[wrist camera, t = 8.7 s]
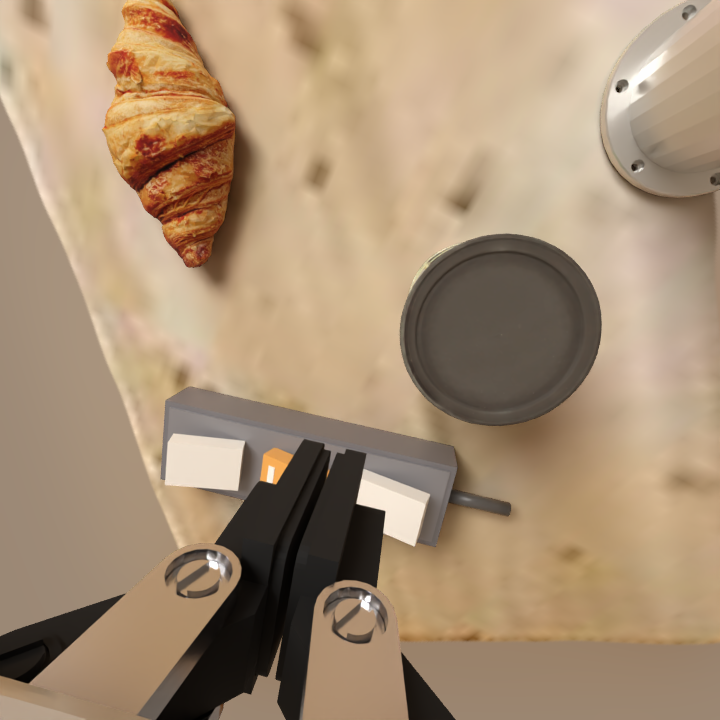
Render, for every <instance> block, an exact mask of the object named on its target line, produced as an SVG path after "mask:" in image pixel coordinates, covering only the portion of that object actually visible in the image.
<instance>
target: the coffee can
mask: <svg viewBox="0 0 720 720" xmlns="http://www.w3.org/2000/svg"><path fill="white" fill-rule="evenodd" d="M601 325H602V321H601V311H600V305H599V301H598V297H597V295H596V292H595V290H594V287H593V285H592V283H591V282H590V280H589V279H588V277H587V275H586V274H585V272H584V271H583V270H582V269H581V268H580V266H579V265H578V264H577V263H576V262H575V261H574V260H573V259H572V258H571V257H569V256H568V255H567V254H566V253H565V252H563V251H562V250H560V249H559V248H557V247H555V246H553V245H551V244H549V243H547V242H545V241H542V240H540V239H537V238H533V237H529V236H523V235H517V234H495V235H487V236H482V237H478V238H475V239H472V240H468V241H466V242H463V243H460V244H455V245H452V246H450V247H447V248H445V249H443V250H441V251H439V252H438V253H436V254H435V255H433V256H432V257H431V258H430V259H428V260H427V261H426V262H425V263H424V264H423V265H422V267H421V268H420V269H419V271H418V273H417V274H416V276H415V278H414V280H413V282H412V285H411V288H410V291H409V295H408V297H407V300H406V303H405V306H404V309H403V312H402V317H401V323H400V346H401V352H402V356H403V360H404V364H405V366H406V369H407V371H408V373H409V375H410V377H411V379H412V381H413V382H414V384H415V386H416V387H417V388H418V389H419V391H420V392H421V393H422V394H423V395H424V397H425V398H426V399H427V400H428V401H430V402H431V403H432V404H433V405H434V406H436V407H437V408H438V409H440V410H442V411H443V412H445V413H447V414H448V415H450V416H452V417H454V418H457V419H460V420H462V421H465V422H469V423H473V424H479V425H488V426H504V425H512V424H517V423H522V422H526V421H529V420H532V419H535V418H537V417H540V416H542V415H544V414H546V413H548V412H550V411H551V410H553V409H554V408H556V407H557V406H559V405H560V404H561V403H563V402H564V401H565V400H566V399H567V398H568V397H570V396H571V395H572V394H573V393H574V392H575V391H576V389H577V388H578V387H579V386H580V385H581V383H582V382H583V381H584V379H585V378H586V376H587V375H588V373H589V372H590V370H591V368H592V366H593V364H594V361H595V359H596V356H597V353H598V349H599V345H600V339H601Z"/></svg>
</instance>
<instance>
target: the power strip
mask: <svg viewBox="0 0 720 720" xmlns="http://www.w3.org/2000/svg"><path fill="white" fill-rule="evenodd" d="M173 433H174V434H184V435H194V436H203V437H213V438H223V439H232V440H242V441H245V448H244V456H243V464H242V472H241V481H240V484H239V488H238V491H234V490H222V489H210V488H199V489H203V490H207V491H211V492H215V493H219V494H223V495H227V496H231V497H235V498H239V499H243V500H245V499H246V498H247V497H248V495H249V494H250V492H251V491H252V489H253V488H254V487H255V485H256V484H257V483H258V482H259V481H260V477H261V470H262V462H263V455H264V453H266V452H268V451H269V450H271V449H273V448H278V449H280V450H283V451H285V452H287V453H290V454H292V455H294V454H295V452H296V451H297V449H298V447H299V446H300V444H301V443H302V441H303V440H304V439H307V440H311V441H315V442H320V443H324V444H325V447H324V449H325V450H330V451H331V456H330V462H329V467H328V470H330V469H331V466H332V464H333V461H334V459H335V456H336V454H337V452H338V453H342V454H345V451H346V449H350V450H354V451H358V452H363V453H367V454H366V460H365V464H364V469H366V470H368V471H371V472H373V473H376V474H379V475H381V476H384V477H387V478H389V479H392V480H394V481H397V482H400V483H402V484H405V485H407V486H410V487H413V488H415V489H418V490H420V491H423V492H426V493H428V494H430V498H429V502H428V505H427V509H426V513H425V517H424V521H423V524H422V528H421V532H420V536H419V538H418V540H417V543H421V544H425V545H429V546H433V547H436V544H437V540H438V537H439V533H440V529H441V526H442V522H443V519H444V515H445V511H446V508H447V504H448V502H449V503H453V504H457V505H462V506H466V507H470V508H474V509H479V510H483V511H487V512H491V513H495V514H500V515H504V516H509V515H510V511H511V504H510V503H509V502H504V501H500V500H496V499H492V498H487V497H483V496H479V495H475V494H470V493H466V492H462V491H458V490H453V489H452V486H453V483H454V479H455V475H456V472H457V468H458V467H457V462H456V457H455V451H454V446H449V445H445V444H440V443H436V442H432V441H427V440H423V439H418V438H414V437H410V436H405V435H401V434H396V433H392V432H388V431H383V430H379V429H374V428H370V427H365V426H361V425H357V424H352V423H348V422H343V421H339V420H335V419H330V418H326V417H321V416H317V415H313V414H308V413H304V412H299V411H295V410H291V409H286V408H282V407H277V406H273V405H269V404H264V403H260V402H255V401H251V400H246V399H242V398H238V397H233V396H229V395H224V394H220V393H216V392H211V391H207V390H202V389H198V388H194V387H187V388H186V389H184V390H182V391H181V392H179V393H177V394H175V395H174V396H172V397H170V398H169V399H167V400H166V401H165V417H164V433H163V449H162V465H161V479H162V480H165V476H166V461H167V446H168V441H169V440H170V438H171V437H172V435H173ZM194 488H198V487H194ZM383 534H384V533H383ZM385 535H386V534H385Z"/></svg>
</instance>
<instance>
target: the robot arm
mask: <svg viewBox="0 0 720 720" xmlns="http://www.w3.org/2000/svg"><path fill="white" fill-rule="evenodd" d="M682 16H683V17H684V19H683V17H682ZM616 87H617V88H619V93H618V92H616V90H615V88H616ZM600 120H601V134H602V139H603V143H604V147H605V150H606V152H607V154H608V156H609V159H610V161H611V163H612V164H613V165H614V167H615V168H616V169H617V171H618V172H619V173H620V175H622V176H623V177H624V178H625V179H626V180H627V181H629V182H630V183H631V184H632V185H634V186H636V187H638V188H639V189H641V190H643V191H645V192H648V193H651V194H655V195H658V196H662V197H675V198H682V197H691V196H698V195H702V194H707V193H711V192H715V191H717V190H720V0H687V1H684V2H681V3H680V4H678V5H676V6H674V7H673V8H671V9H669V10H668V11H666V12H664V13H663V14H661V15H660V16H659V17H658V18H656V19H655V20H654V21H653V22H652V23H650V24H649V25H648V26H647V27H645V28H644V30H643V31H642V32H641V33H640V34H639V35H638V36H637V37H636V38H635V39H634V40H633V41H632V42H631V43H630V45H629V46H628V47H627V48H626V50H625V51H624V52H623V54H622V55H621V56H620V58H619V60H618V61H617V63H616V65H615V67H614V69H613V71H612V73H611V74H610V77H609V79H608V82H607V85H606V88H605V91H604V94H603V100H602V106H601V112H600ZM632 165H634V166H635V170H634V171H632V169H631V166H632ZM710 178H711V179H712V182H710ZM324 447H325V444H324V443H320V442H315V441H311V440H307V439H304V440H303V441H302V443H301V444H300V446H299V447H298V449H297V451H296V452H295V454H294V456H293V457H292V459H291V461H290V462H289V464H288V466H287V467H286V469H285V470H284V472H283V474H282V475H281V477H280V479H279V480H278V482H277V484H273V483H268V482H264V481H259V482H258V483H257V484H256V485H255V487H254V488H253V489H252V491H251V492H250V494H249V495H248V497H247V498H246V499H245V501H244V502H243V504H242V505H241V507H240V508H239V510H238V511H237V512H236V514H235V515H234V517H233V518H232V520H231V521H230V522H229V524H228V525H227V527H226V528H225V530H224V531H223V533H222V534H221V535H220V537H219V538H218V540H217V541H216V543H215V544H206V543H199V544H194V545H189V546H185V547H183V548H181V549H178V550H176V551H174V552H173V553H171V554H170V555H169V556H167V557H166V558H164V559H163V560H162V561H161V562H160V563H159V564H158V565H157V566H156V567H155V568H154V569H153V570H151V571H150V572H149V573H148V574H147V575H146V576H145V577H144V578H143V579H142V580H141V581H140V582H139V583H138V584H136V585H135V586H134V587H133V588H132V589H131V590H130V591H129V592H128V593H126V594H123V595H120V596H117V597H114V598H111V599H108V600H105V601H101V602H98V603H96V604H92V605H89V606H86V607H84V608H80V609H77V610H74V611H71V612H68V613H65V614H62V615H59V616H56V617H53V618H50V619H47V620H44V621H41V622H38V623H35V624H32V625H29V626H26V627H23V628H20V629H17V630H14V631H12V632H9V633H7V634H5V635H2V636H0V720H219V718H220V716H221V713H222V711H223V708H224V703H225V702H227V701H229V700H231V699H232V698H234V697H236V696H238V695H240V694H242V693H243V692H244V693H248V694H251V693H252V690H253V688H254V685H255V682H256V680H257V677H258V675H261V676H265V677H267V676H268V675H269V672H270V669H271V667H272V664H273V661H274V658H275V655H276V653H277V650H278V647H279V644H280V641H281V638H282V642H281V648H280V654H279V661H278V666H277V672H276V680H279V681H281V683H280V689H279V695H278V701H277V703H278V705H279V707H280V709H281V711H282V713H283V715H284V717H285V719H286V720H455V718H454V717H453V716H452V715H451V713H450V712H449V711H448V710H447V708H446V707H445V706H444V705H443V703H442V702H441V701H440V700H439V698H438V697H437V696H436V695H435V693H434V692H433V691H432V690H431V689H430V687H429V686H428V685H427V683H426V682H425V681H424V680H423V678H422V677H421V676H420V675H419V673H418V672H417V671H416V670H415V669H414V667H413V666H412V665H411V663H410V662H409V661H408V660H407V659H406V657H405V656H404V655H403V654H402V652H401V649H400V640H399V632H398V623H397V617H396V614H395V610H394V607H393V606H392V604H391V603H390V601H389V599H388V598H387V597H386V596H385V595H384V594H383V593H382V592H381V591H379V590H378V589H377V580H378V571H379V563H380V555H381V547H382V538H383V530H384V522H385V513H386V512H385V511H384V510H380V509H376V508H372V507H368V506H363V505H359V504H356V503H357V498H358V493H359V488H360V484H361V479H362V474H363V469H364V464H365V460H366V454H367V453H363V452H358V451H354V450H350V449H346V451H345V454H342V453H338V452H337V454H336V456H335V459H334V461H333V464H332V466H331V469H330V471H329V474H328V476H327V473H328V467H329V462H330V456H331V451H330V450H325V449H324ZM326 478H327V479H326ZM282 636H283V637H282Z"/></svg>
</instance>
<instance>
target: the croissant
mask: <svg viewBox="0 0 720 720" xmlns="http://www.w3.org/2000/svg"><path fill="white" fill-rule="evenodd" d="M122 14H123V17H124V21H125V26H124V30H123V31H122V32H121V33H120V35H119V37H118V39H117V43H116V44H115V45H114V46H113V47H112V49H111V52H110V53H109V54H108V62H107V66H108V68H109V70H110V71H111V72H112V73H113V74H114V76H115V78H116V81H117V85H116V86H115V98H114V100H113V102H112V104H111V107H110V108H109V109H108V111H107V114H106V119H105V127H104V128H103V129H102V130H103V132H104V134H105V136H106V139H107V144H108V147H109V150H110V153H111V156H112V158H113V162H114V165H115V166H116V168H117V170H118V172H119V174H120V175H121V177H122V178H123V179H124V180H125V181H126V182H127V183H128V184H129V185H130V187H131V188H133V189H134V190H135V191H136V192H137V194H138V196H139V197H140V199H141V202H142V204H143V207H144V208H145V210H146V211H147V212H148V213H149V214H151V215H152V216H153V217H154V218H157V219H158V220H159V221H160V222H161V223H162V224H163V226H162V230H163V234H164V237H165V239H166V241H167V242H168V243H169V244H170V245H171V246H172V248H173V249H174V250H176V252H177V253H178V255H179V256H180V257H181V258H182V259H183V261H184V263H185V265H186V266H187V267H189V268H190V267H193V268H194V267H200V266H201V265H202V264H204V263H205V262H206V261H207V260H208V258H209V256H211V251H212V243H213V242H214V234H215V233H216V232H217V231H218V230H219V227H220V226H221V225H222V223H223V222H224V219H225V213H226V210H227V200H228V193H229V191H230V184H231V180H232V179H233V172H234V167H233V150H234V141H235V133H234V131H235V128H236V125H235V115H234V114H233V113H232V112H231V111H230V110H229V109H228V105H227V102H226V101H225V99H224V95H223V92H222V89H221V86H220V84H219V82H218V81H217V80H216V79H214V78H213V77H211V76H210V75H209V73H208V71H207V70H206V69H205V68H204V64H203V61H202V59H201V57H200V56H199V54H198V52H197V48H196V45H195V43H194V41H193V39H192V37H191V35H190V34H189V33H188V32H187V30H186V29H185V27H184V26H183V25H182V24H181V21H180V19H179V16H178V12H177V10H176V9H175V7H174V6H173V4H172V2H171V0H127V2H126V3H125V5H124V7H123V9H122Z"/></svg>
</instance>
